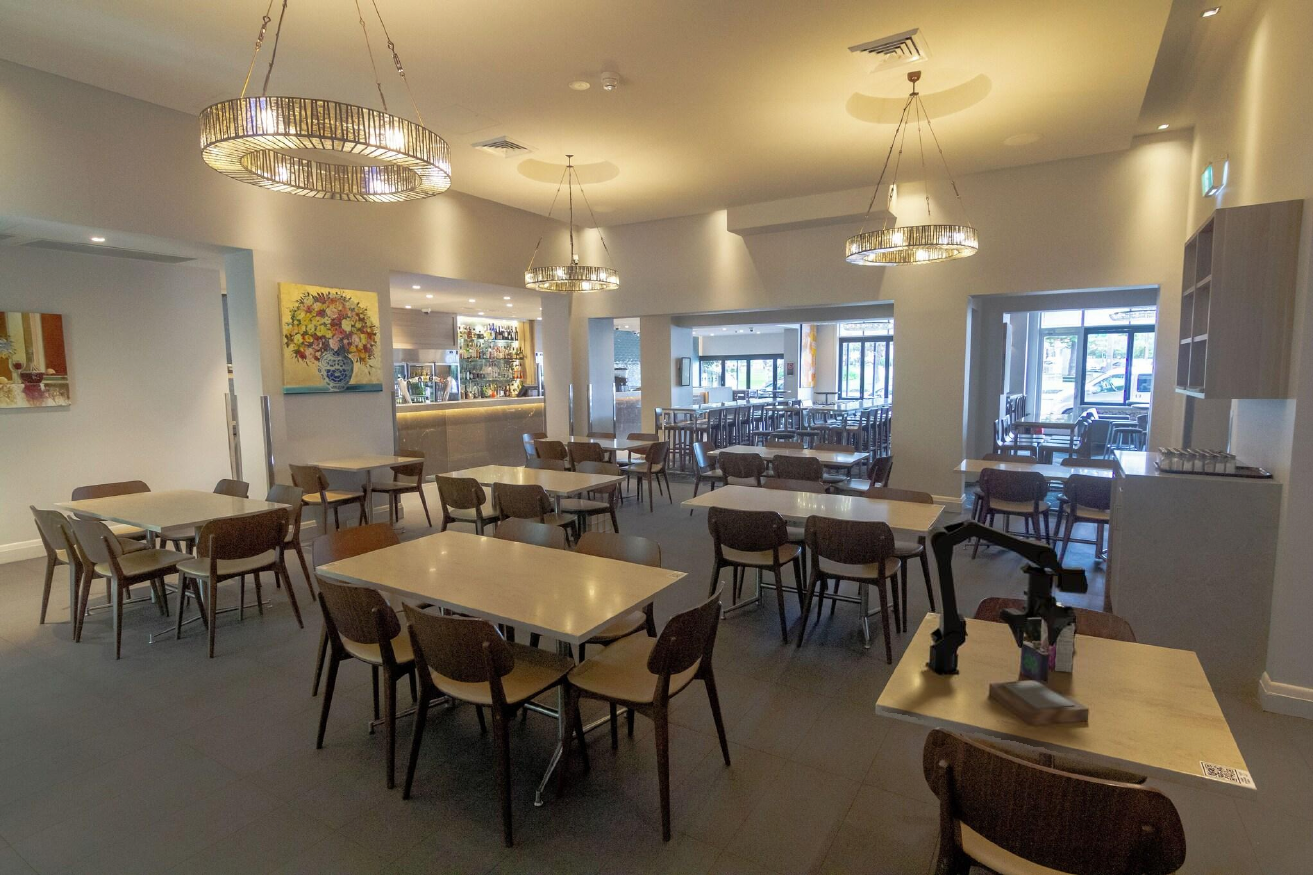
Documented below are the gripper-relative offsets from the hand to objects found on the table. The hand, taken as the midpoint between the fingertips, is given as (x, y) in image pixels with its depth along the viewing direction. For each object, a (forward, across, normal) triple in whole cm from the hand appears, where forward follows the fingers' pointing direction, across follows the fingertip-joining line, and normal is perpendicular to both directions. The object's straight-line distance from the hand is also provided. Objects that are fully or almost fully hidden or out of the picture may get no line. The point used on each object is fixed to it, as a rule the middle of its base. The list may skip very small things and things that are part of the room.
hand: (1035, 646), depth 175 cm
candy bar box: (+9, +13, +8) cm, 18 cm away
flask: (+9, 0, 0) cm, 9 cm away
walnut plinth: (+9, -10, -14) cm, 19 cm away
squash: (+9, +23, +23) cm, 34 cm away
